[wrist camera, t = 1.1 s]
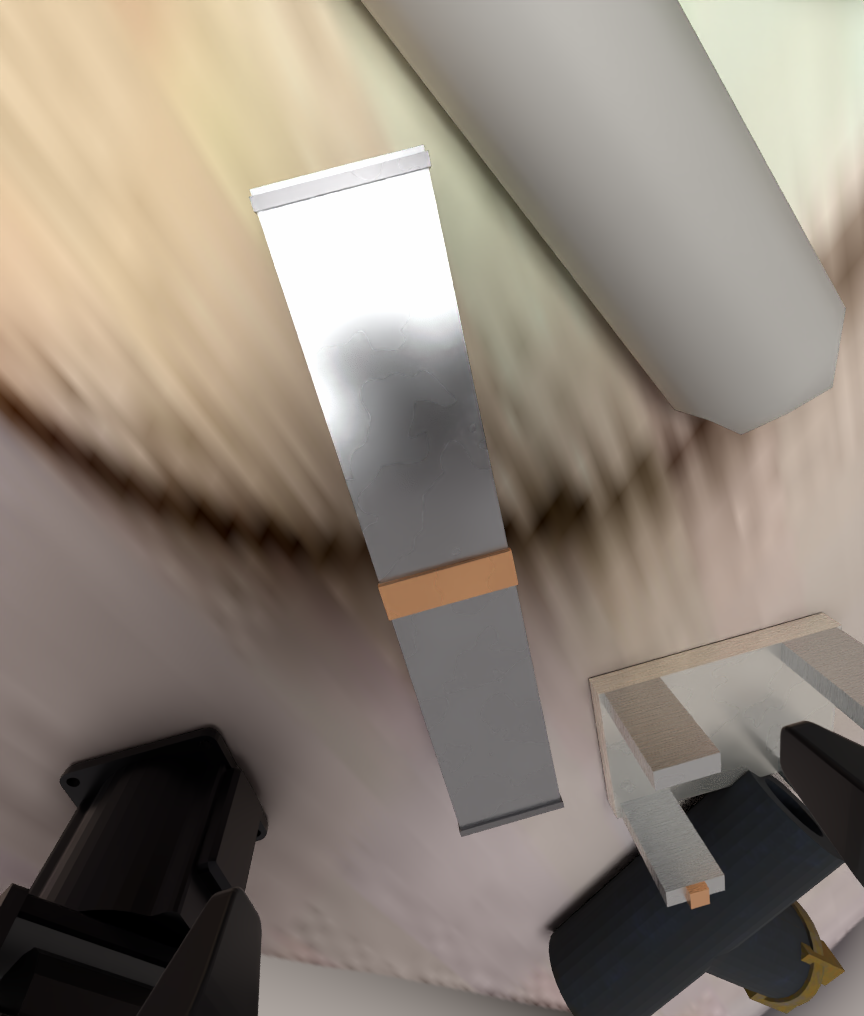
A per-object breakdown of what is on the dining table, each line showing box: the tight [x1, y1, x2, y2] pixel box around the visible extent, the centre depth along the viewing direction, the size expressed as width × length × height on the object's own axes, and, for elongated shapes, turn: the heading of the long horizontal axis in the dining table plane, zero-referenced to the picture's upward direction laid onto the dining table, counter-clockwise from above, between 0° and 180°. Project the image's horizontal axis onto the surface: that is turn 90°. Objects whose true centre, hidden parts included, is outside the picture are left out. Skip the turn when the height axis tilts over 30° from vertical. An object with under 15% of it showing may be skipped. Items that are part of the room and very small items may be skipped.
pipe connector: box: [549, 771, 845, 1016], centre depth 27 cm, size 12×5×15 cm
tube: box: [361, 0, 846, 435], centre depth 12 cm, size 5×5×25 cm
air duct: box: [249, 145, 564, 837], centre depth 17 cm, size 22×4×4 cm, turn 14°
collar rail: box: [589, 613, 864, 909], centre depth 22 cm, size 11×8×5 cm
